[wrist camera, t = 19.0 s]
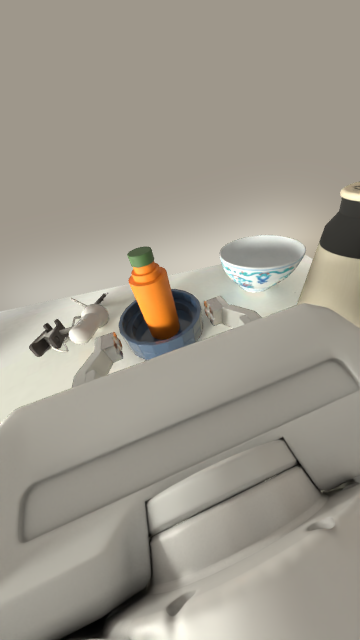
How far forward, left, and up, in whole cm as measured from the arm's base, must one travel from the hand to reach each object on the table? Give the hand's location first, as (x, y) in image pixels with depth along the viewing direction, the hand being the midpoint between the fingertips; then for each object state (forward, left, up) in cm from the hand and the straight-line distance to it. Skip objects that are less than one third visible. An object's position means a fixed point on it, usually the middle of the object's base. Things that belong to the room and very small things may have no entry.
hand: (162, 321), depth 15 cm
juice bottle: (-6, +10, -12) cm, 17 cm away
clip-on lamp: (-24, +11, -13) cm, 30 cm away
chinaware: (+11, +26, -13) cm, 31 cm away
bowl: (-6, +11, -13) cm, 17 cm away
